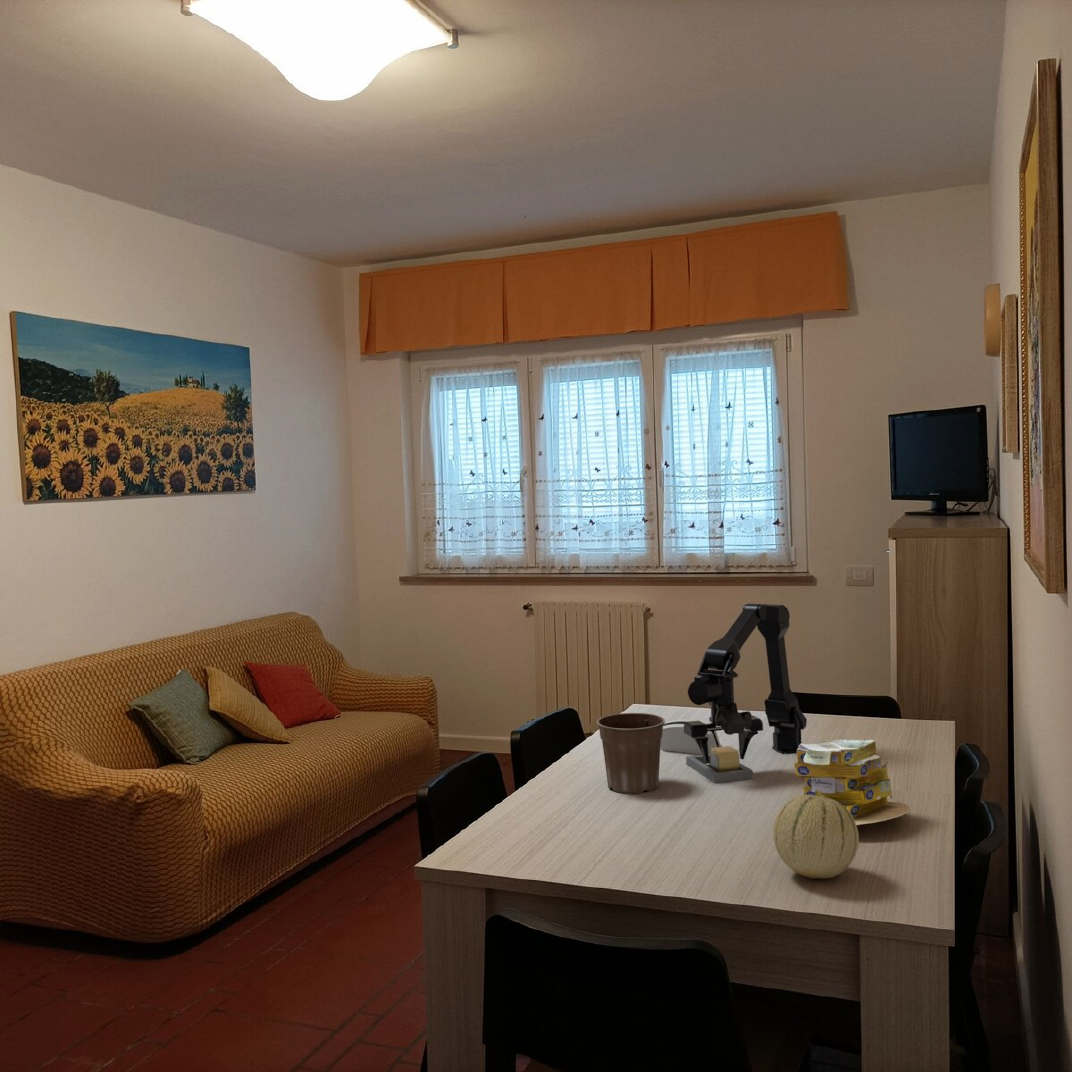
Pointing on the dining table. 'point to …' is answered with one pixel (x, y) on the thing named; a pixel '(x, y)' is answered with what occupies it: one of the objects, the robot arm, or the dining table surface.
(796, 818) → the cantaloupe
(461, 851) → the dining table surface
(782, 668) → the robot arm
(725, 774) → the gray rectangular tray
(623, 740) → the plant pot
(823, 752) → the stacked yellow boxes
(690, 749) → the grey arched block
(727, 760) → the metal-backed wooden cube
